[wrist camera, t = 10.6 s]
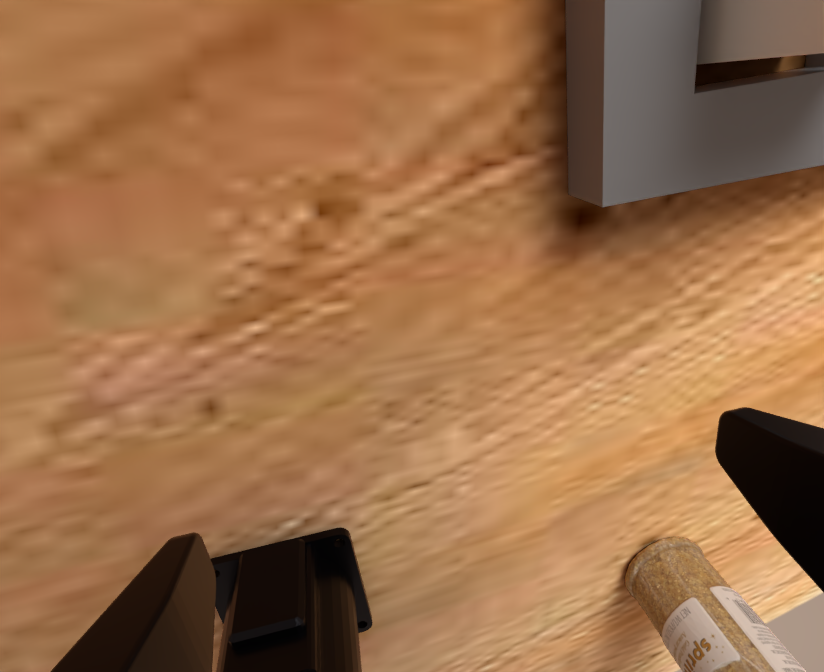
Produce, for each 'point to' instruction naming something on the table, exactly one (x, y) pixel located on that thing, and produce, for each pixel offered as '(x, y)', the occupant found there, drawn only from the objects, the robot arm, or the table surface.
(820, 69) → the socket block
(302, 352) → the table surface
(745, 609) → the sprinkles bottle
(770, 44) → the plug
